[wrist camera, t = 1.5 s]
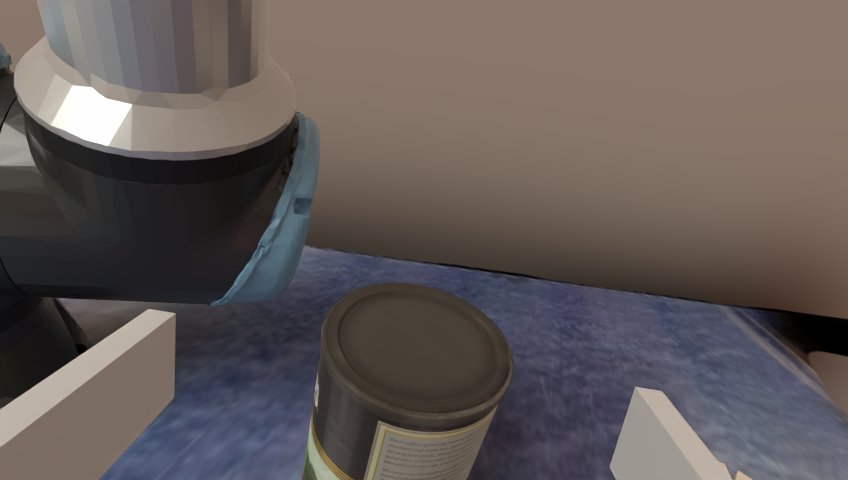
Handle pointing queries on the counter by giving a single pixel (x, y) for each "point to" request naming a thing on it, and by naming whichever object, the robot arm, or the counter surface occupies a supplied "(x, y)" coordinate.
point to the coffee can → (404, 386)
